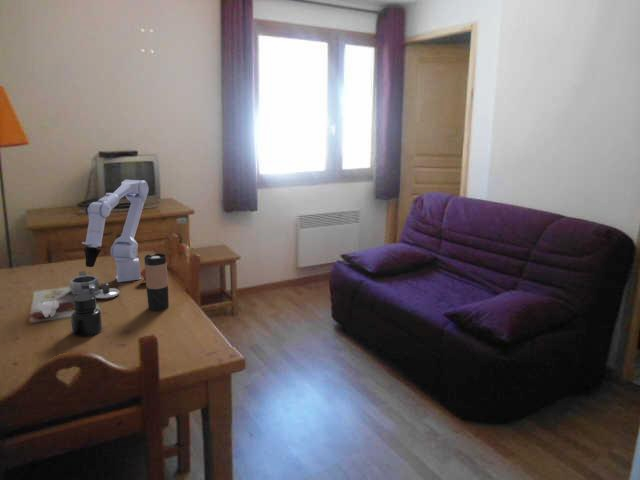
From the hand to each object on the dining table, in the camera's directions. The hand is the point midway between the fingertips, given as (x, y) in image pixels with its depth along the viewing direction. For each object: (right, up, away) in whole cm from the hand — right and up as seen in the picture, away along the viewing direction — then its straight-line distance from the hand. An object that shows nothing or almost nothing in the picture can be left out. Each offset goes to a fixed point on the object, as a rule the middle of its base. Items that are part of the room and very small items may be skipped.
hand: (89, 266), depth 195 cm
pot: (-6, -10, +10) cm, 15 cm away
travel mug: (+29, -15, -8) cm, 34 cm away
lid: (+5, -12, +3) cm, 13 cm away
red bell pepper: (+17, -8, +19) cm, 27 cm away
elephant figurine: (-7, -17, -17) cm, 25 cm away
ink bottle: (+13, -20, -29) cm, 37 cm away
